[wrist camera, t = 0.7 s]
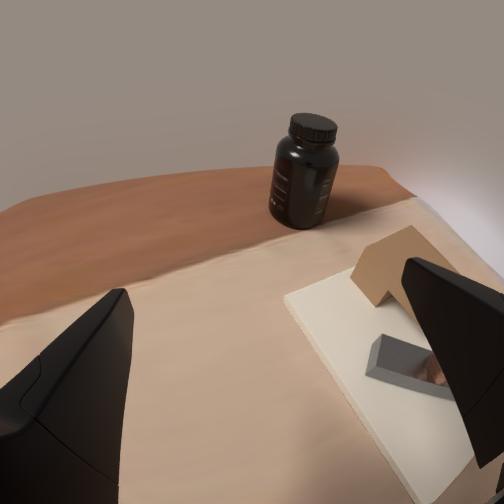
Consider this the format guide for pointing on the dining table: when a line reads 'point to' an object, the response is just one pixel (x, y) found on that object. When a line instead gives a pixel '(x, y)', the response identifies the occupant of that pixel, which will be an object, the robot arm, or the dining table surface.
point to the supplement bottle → (304, 171)
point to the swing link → (407, 367)
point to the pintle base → (357, 355)
